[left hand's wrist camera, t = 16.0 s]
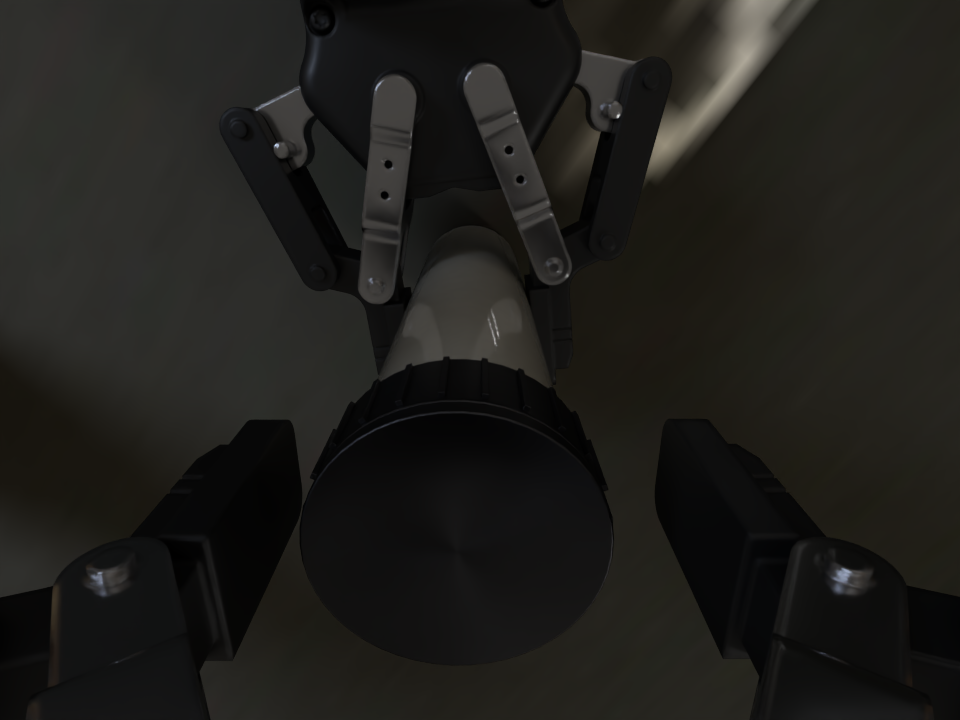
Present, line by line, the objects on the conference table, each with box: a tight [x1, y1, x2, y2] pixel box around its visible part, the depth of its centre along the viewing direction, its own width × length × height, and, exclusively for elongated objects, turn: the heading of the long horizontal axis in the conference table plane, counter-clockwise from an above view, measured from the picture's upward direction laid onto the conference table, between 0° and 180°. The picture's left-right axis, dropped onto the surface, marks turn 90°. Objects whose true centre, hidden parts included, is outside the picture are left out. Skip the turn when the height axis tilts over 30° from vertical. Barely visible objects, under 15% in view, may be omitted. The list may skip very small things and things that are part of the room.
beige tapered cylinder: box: [378, 226, 553, 388], centre depth 18 cm, size 4×4×18 cm
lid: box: [300, 356, 614, 665], centre depth 10 cm, size 5×5×2 cm
